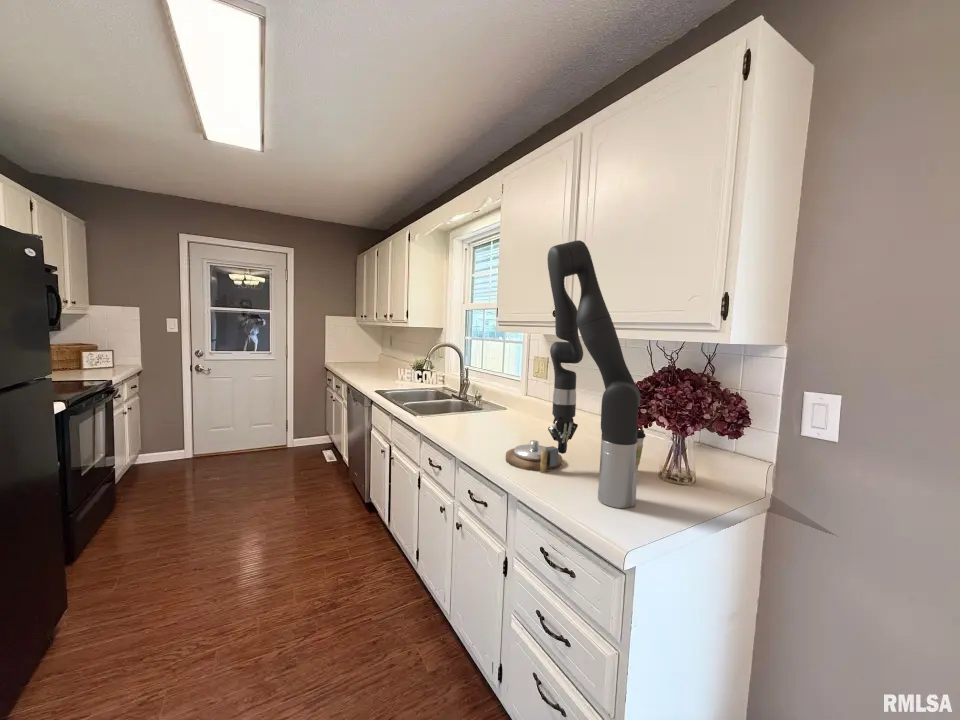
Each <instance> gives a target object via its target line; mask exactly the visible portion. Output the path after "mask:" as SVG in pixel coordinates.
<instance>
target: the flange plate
mask: <svg viewBox="0 0 960 720" xmlns="http://www.w3.org/2000/svg"><path fill="white" fill-rule="evenodd" d="M539 444H540V443H539V441H538V440H533V439H531V440H530V442H529V444H521V445H517V446H515V447H514V448H515V449H514V448H513V449H514V454H515V455H516V456H517V457H519V458H522V459H525V460H531V461H541V451H542V450H545V451H547V465H548V466H557V465H558V454H559V452H558V450H559V449H558V447H555V446H544V445H539Z"/></svg>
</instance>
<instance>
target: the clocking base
mask: <svg viewBox="0 0 960 720" xmlns="http://www.w3.org/2000/svg"><path fill="white" fill-rule="evenodd" d="M514 449H515V447H514V448H511V449H508V450H507V451H506V452H505V462H506V463H507V464H508V463H509V464H508V465H510V466H512V467H514V468H516V469H521V470H527V471H531V470H532V472H540V473H541V474H547V470H549V471H554V470H557V469H559V468H561V467H562V465H563V456H562V454H561V453H558V465H557V466H548V465H547V451H545V450H542V451H541V461H531V460H525V459H522V458H519V457H517V456H516V455H515V454H514ZM560 466H561V467H560Z"/></svg>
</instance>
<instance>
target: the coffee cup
mask: <svg viewBox="0 0 960 720" xmlns="http://www.w3.org/2000/svg"><path fill="white" fill-rule="evenodd" d="M645 438H646V434H645V430H644V429H643V430H637V449H636V464H635V470H636V471H637V472H638V471H639V470H638V469H639V465H640V463H641V458H642V452H643V447H644V439H645Z"/></svg>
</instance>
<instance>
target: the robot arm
mask: <svg viewBox="0 0 960 720" xmlns="http://www.w3.org/2000/svg"><path fill="white" fill-rule="evenodd" d="M588 248H589V247H588V246H587V245H586V243H585V242H584V241H582V240H581V239H580V240H574V241H573V240H572V241H569V242H564V243H560V244H555V245H553V246H551V247H550V248H549V250H548V253H547V258H546V259H547V268H548V269H547V270H548V276H549V277H548V278H549V281H550V288H551V293H552V299H553V305H554V315H555V320H554V322H555V324H554V325H555V331H554V332H555V335H556V337H557V338H558V339H560V340H563V341H554V342H553V343H552V344H551V346H550V349H549V352H550V359H551V363H552V366H553V371H554V387H553V388H554V389H553V392H552V393H553V395H552V413H551V414H552V416H553V417H554V419H553V420H552V421H553V422H552V423H553V424H552V425H551V426H548V427H547V431H548V433H549V434H550V436H551V438H552V439H553V440H554V441H556V442H557V448H558V449H559V450H558V454H561V455H563V454H566V453H567V451H568V450H567V448H568V442H569V440H572V438H573V437H574V434H575V432H576V431H577V428H578V426H579V424H577V423H575V422H574V417H576V412H577V411H576V410H577V407H576V406H577V373H576V372H575V371H572V370H570V369H566V368H564V367H563V366H562V364H579V363H580V362H581V361H582V360H583V358H584V349H583V346H582V343H581V340H580V337H581V339H582V342H583V343H584V345H585V346H584V347H585V348H586V350H587V351H588V353H589V355H590V356H591V357H592V360H593V361H594V362H595V364H596V366H597V368H598V370H599V372H600V375H601V377H602V380H603V384H604V385H603V386H604V388H605V389H604V391H603V394H602V398H601V409H600V431H601V443H600V457H599V473H598V490H597V500H598V501H599V502H600V503H601V504H604V505H605V506H608V507H612V508H618V509H625V508H626V509H627V508H631V507H636V501H637V499H636V498H637V489H638V488H637V485H638V484H637V483H638V471H636V470H635V464H636V449H637V428H638V417H639V416H638V413H639V407H640V404H641V400H642V396H641V392H640V390H639V388H638V386H637V383H636V382H635V381H634V379H633V376H632V374H631V372H630V370H629V367H628V366H627V364H626V361H625V358H624V354H623V351H622V346H621V343H620V341H619V338H618V334H617V331H616V327H615V325H614V323H613V319H612V317H611V314H610V312H609V310H608V307H607V304H606V303H605V300H604V297H603V294H602V291H601V288H600V284H599V281H598V277H597V274H596V270H595V266H594V263H593V260H592V255H591V253H590V250H589V249H588ZM574 275H576V276H577V278H578V281H579V284H580V285H579V286H580V298H579V303H578V307H577V306H576V304H575V303H574V301H573V300H572V298H571V297H570V296H569V294H568V293H567V292H568V291H567V290H566V287H565V278H566V277H570V276H574ZM579 334H580V336H579Z"/></svg>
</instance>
